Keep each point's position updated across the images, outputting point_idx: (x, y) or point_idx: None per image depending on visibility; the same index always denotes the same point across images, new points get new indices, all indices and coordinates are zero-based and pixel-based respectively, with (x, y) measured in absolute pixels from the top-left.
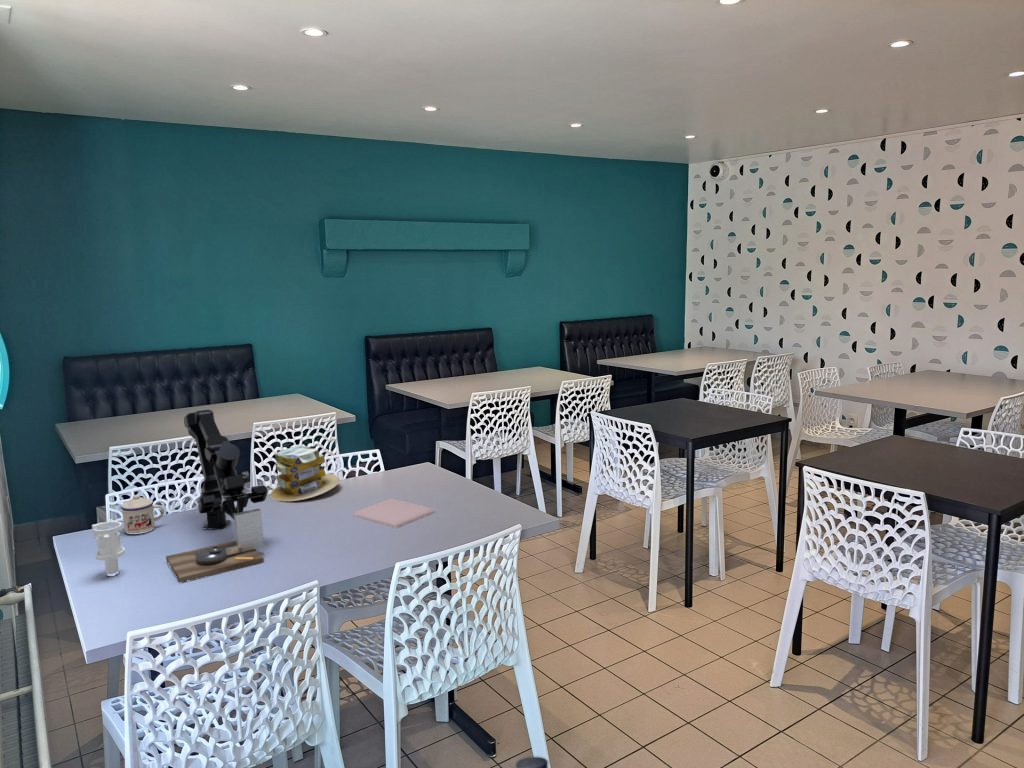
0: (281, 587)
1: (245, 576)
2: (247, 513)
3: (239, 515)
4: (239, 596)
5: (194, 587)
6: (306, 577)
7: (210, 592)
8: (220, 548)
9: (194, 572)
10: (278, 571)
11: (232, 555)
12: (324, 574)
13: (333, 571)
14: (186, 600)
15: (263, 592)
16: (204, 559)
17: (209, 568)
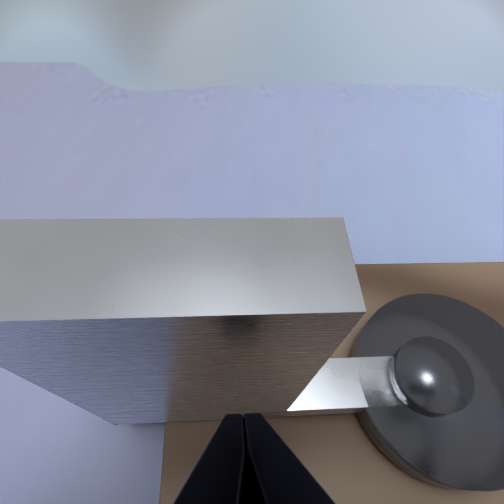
0: (208, 93)
1: (283, 199)
2: (177, 221)
3: (290, 225)
4: (321, 104)
5: (459, 212)
6: (120, 105)
7: (401, 158)
8: (400, 352)
9: (490, 278)
10: (169, 176)
11: None
12: (68, 96)
13: (35, 98)
14: (467, 150)
15: (259, 94)
16: (473, 309)
17: (427, 282)
